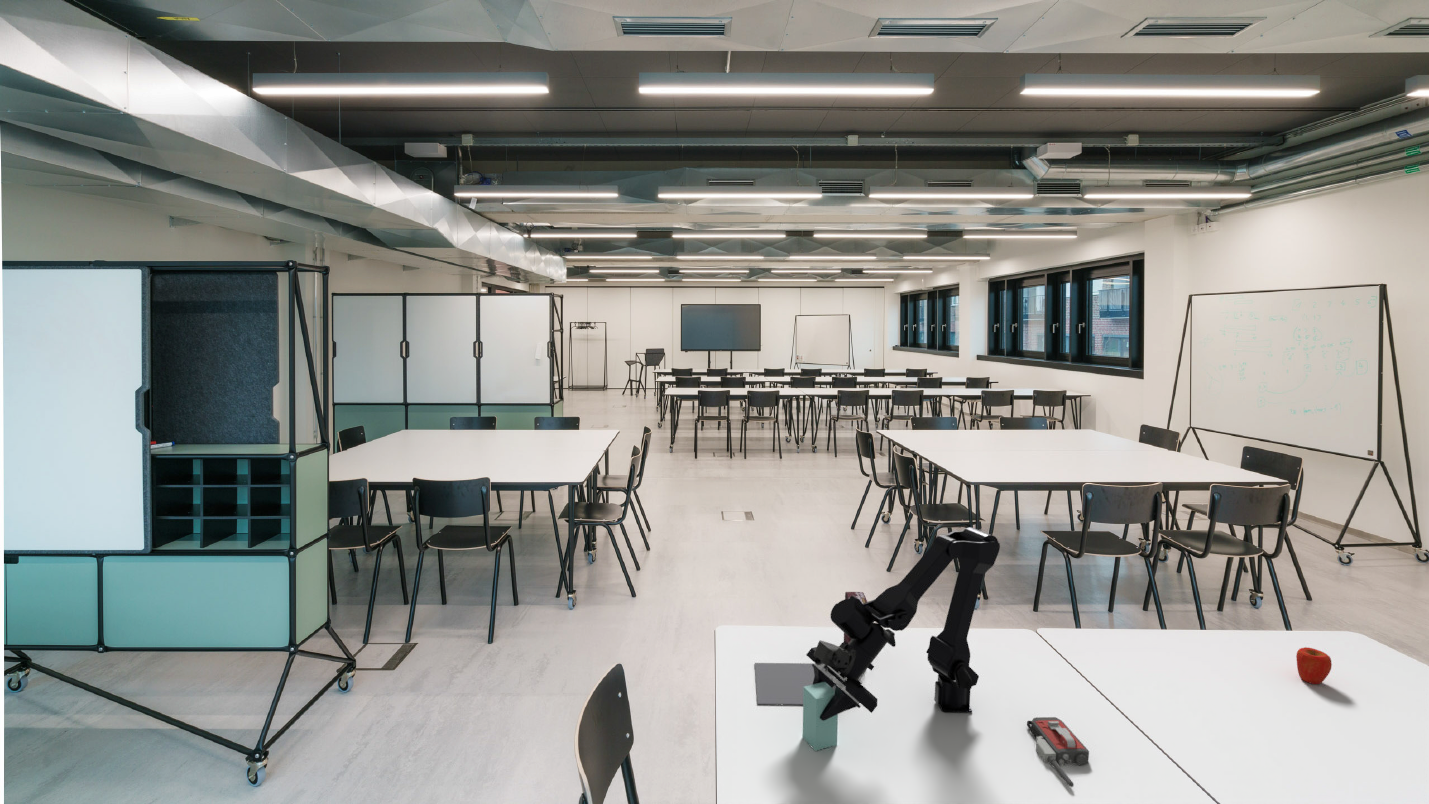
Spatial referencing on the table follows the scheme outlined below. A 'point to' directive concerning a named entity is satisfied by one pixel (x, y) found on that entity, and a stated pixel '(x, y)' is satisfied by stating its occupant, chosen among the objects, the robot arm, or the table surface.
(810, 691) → the teal block
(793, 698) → the charcoal mat
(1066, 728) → the walkie-talkie
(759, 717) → the table surface
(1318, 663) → the apple
